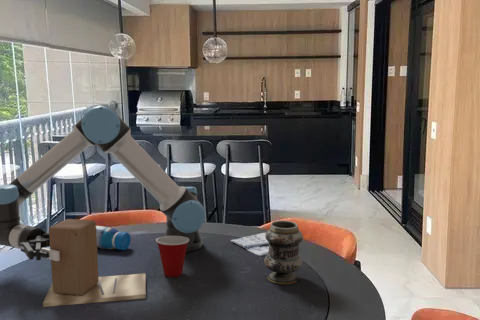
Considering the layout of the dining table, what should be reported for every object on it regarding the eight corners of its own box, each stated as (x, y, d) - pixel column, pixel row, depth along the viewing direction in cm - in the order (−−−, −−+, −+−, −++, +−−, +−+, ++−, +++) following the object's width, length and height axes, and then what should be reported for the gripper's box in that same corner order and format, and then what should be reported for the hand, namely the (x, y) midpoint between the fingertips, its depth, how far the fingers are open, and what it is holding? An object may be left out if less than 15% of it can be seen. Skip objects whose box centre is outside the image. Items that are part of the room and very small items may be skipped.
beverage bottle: (72, 233, 181) (116, 242, 174) (85, 218, 187) (128, 225, 180) (80, 249, 186) (123, 257, 179) (92, 233, 192) (134, 241, 185)
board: (145, 276, 154) (145, 273, 154) (145, 298, 139) (145, 293, 138) (53, 284, 149) (53, 280, 149) (43, 306, 133) (42, 302, 133)
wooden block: (82, 296, 136) (79, 229, 133) (51, 293, 139) (47, 227, 136) (100, 283, 146) (97, 219, 143) (70, 280, 148) (66, 217, 145)
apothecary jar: (297, 288, 145) (298, 231, 142) (259, 283, 149) (259, 227, 146) (305, 274, 156) (306, 220, 153) (270, 269, 160) (270, 217, 158)
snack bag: (269, 235, 198) (269, 230, 198) (299, 249, 181) (300, 244, 181) (229, 243, 189) (229, 238, 188) (257, 258, 172) (257, 253, 171)
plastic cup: (195, 269, 160) (194, 235, 158) (181, 282, 150) (180, 245, 148) (166, 265, 164) (165, 232, 162) (150, 277, 153) (149, 241, 152)
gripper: (61, 238, 161) (108, 248, 151) (-8, 262, 139) (42, 276, 129) (59, 217, 160) (107, 225, 150) (-10, 237, 138) (40, 249, 128)
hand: (77, 249), depth 140 cm, fingers open, 13 cm apart
